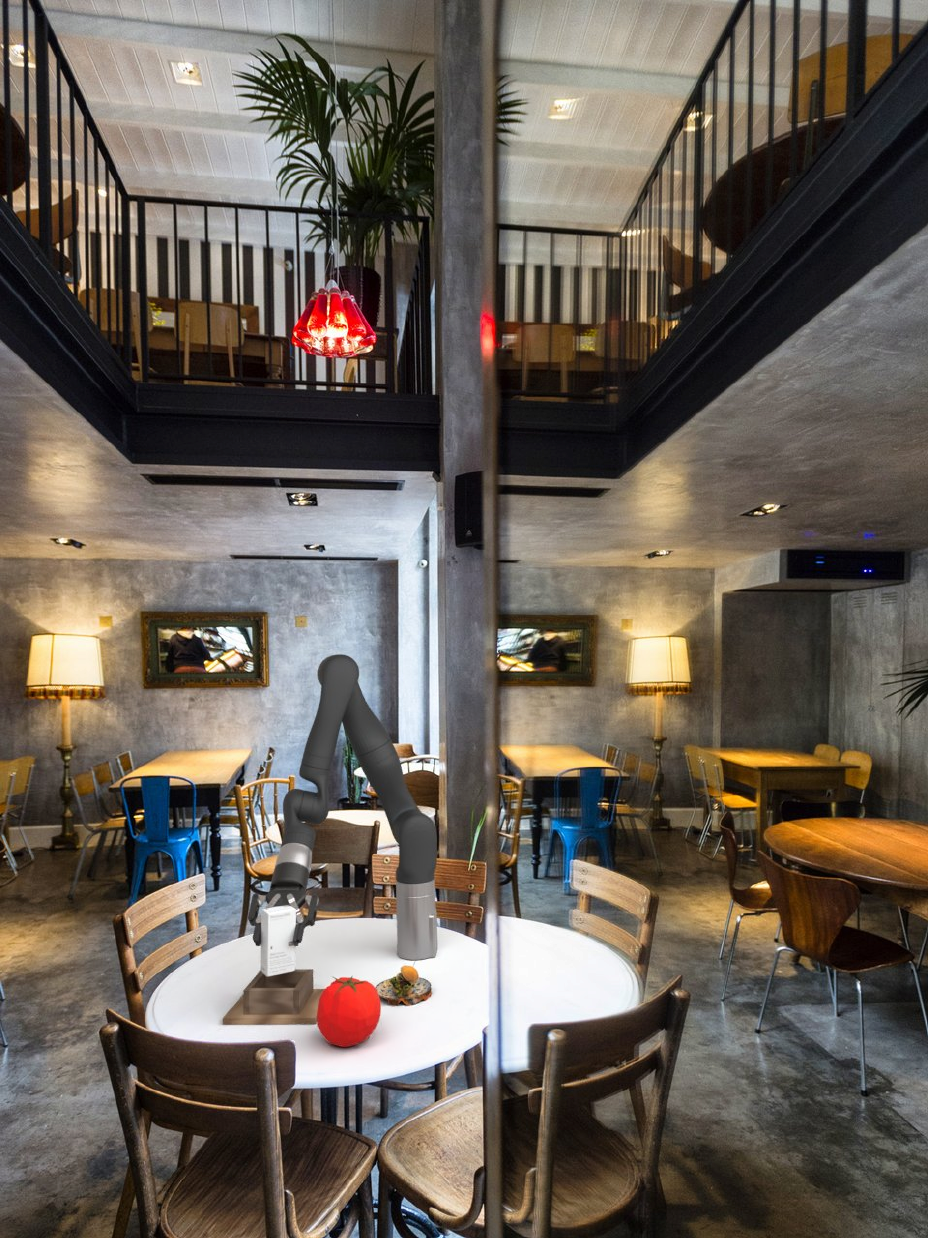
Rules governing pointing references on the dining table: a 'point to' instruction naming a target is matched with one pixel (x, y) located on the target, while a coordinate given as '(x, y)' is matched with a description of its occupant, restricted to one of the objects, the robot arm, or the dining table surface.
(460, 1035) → the dining table surface
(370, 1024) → the tomato
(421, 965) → the dining table surface
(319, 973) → the dining table surface
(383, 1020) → the dining table surface
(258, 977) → the sleeve stand
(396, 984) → the plate of food
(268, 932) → the skincare box
